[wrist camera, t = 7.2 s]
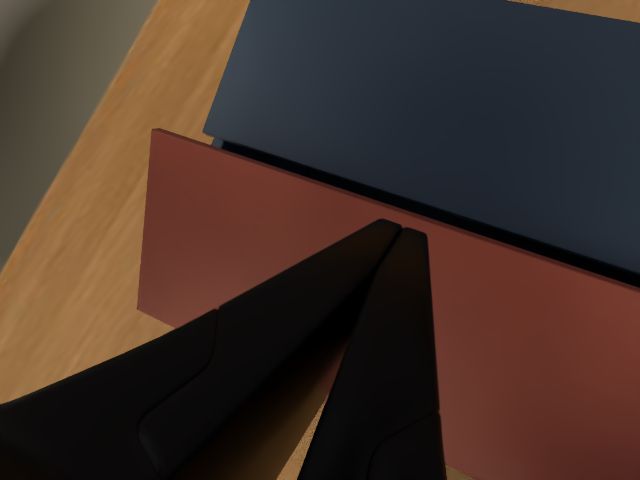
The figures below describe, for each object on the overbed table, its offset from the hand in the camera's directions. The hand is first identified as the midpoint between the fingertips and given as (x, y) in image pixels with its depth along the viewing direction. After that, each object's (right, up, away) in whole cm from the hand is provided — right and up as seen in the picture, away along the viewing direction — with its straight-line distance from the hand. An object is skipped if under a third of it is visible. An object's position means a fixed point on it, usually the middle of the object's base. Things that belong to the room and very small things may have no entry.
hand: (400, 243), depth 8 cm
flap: (0, -2, +2) cm, 3 cm away
